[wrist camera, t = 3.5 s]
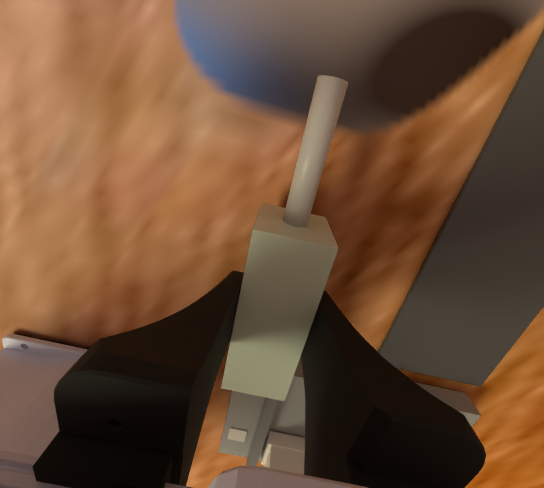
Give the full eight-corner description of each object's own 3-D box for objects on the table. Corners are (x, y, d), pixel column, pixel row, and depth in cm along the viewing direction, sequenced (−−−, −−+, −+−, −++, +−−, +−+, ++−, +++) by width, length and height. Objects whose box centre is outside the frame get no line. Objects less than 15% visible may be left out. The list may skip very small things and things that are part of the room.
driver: (235, 334, 15) (221, 388, 12) (288, 78, 10) (287, 55, 7) (285, 344, 16) (284, 401, 12) (363, 96, 10) (397, 82, 7)
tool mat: (373, 361, 17) (374, 363, 17) (556, 5, 10) (561, 3, 9) (478, 383, 17) (480, 386, 17) (736, 51, 10) (744, 50, 10)
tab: (262, 451, 19) (256, 520, 15) (269, 430, 18) (264, 499, 14) (303, 459, 19) (306, 529, 16) (312, 439, 18) (317, 510, 15)
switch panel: (223, 430, 21) (214, 467, 18) (242, 345, 17) (235, 378, 15) (408, 468, 21) (422, 509, 19) (466, 393, 17) (492, 433, 15)
